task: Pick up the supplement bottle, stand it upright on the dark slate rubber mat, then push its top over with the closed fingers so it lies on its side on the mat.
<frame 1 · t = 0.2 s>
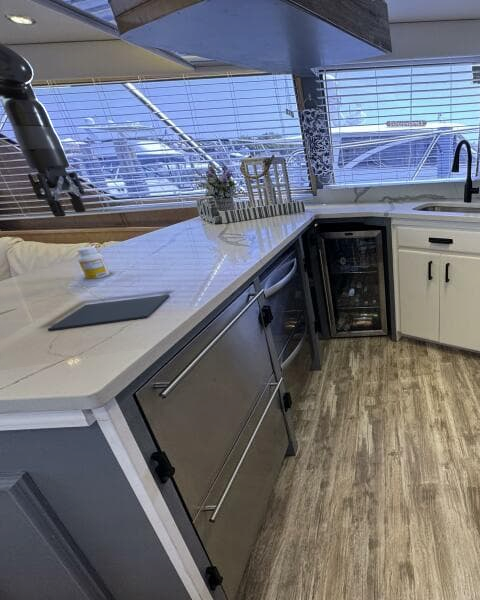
hand: (71, 214, 86), 20 cm above the worktop, tool pointing down, fingers open, 8 cm apart
rubber mat: (115, 311, 74), on the worktop
supplement bottle: (100, 280, 98), on the worktop
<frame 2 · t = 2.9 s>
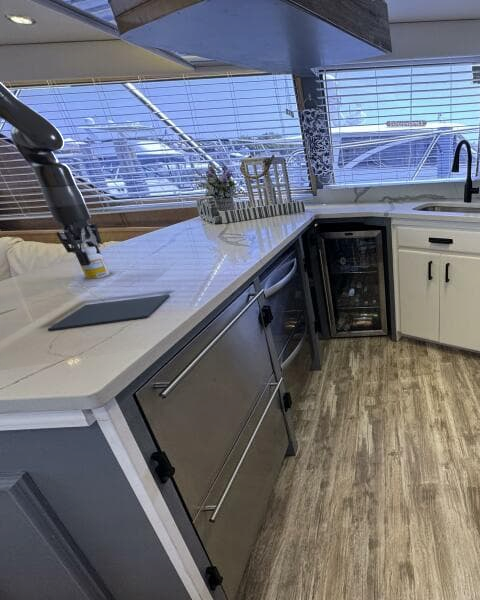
hand: (92, 262, 95), 5 cm above the worktop, tool pointing down, fingers closed on supplement bottle, 5 cm apart
supplement bottle: (100, 280, 98), on the worktop, touching gripper
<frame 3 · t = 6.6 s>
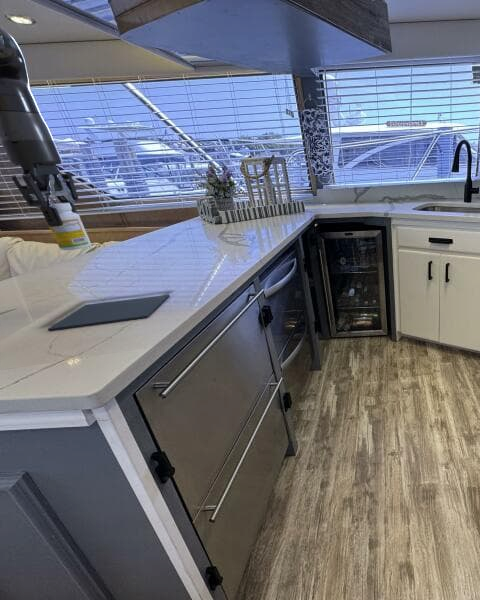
hand: (65, 223, 71), 20 cm above the worktop, tool pointing down, fingers closed on supplement bottle, 5 cm apart
supplement bottle: (77, 248, 74), point 14 cm above the worktop, touching gripper
when the fingers open (6 cm above the worktop, at t = 10.8 s): supplement bottle stays where it is, resting on rubber mat.
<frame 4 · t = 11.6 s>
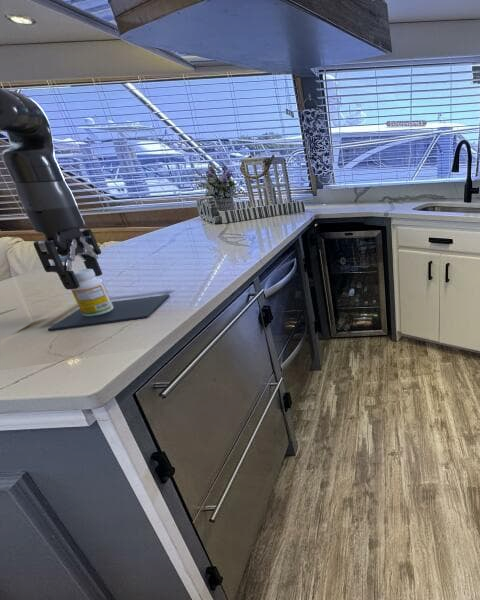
hand: (85, 281, 70), 8 cm above the worktop, tool pointing down, fingers open, 8 cm apart
supplement bottle: (99, 312, 73), resting on rubber mat
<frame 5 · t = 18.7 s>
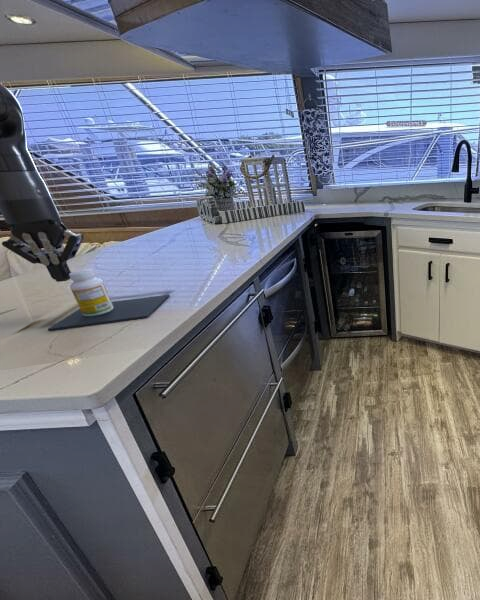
hand: (63, 280, 69), 9 cm above the worktop, tool pointing down, fingers closed
supplement bottle: (99, 312, 73), resting on rubber mat, touching gripper
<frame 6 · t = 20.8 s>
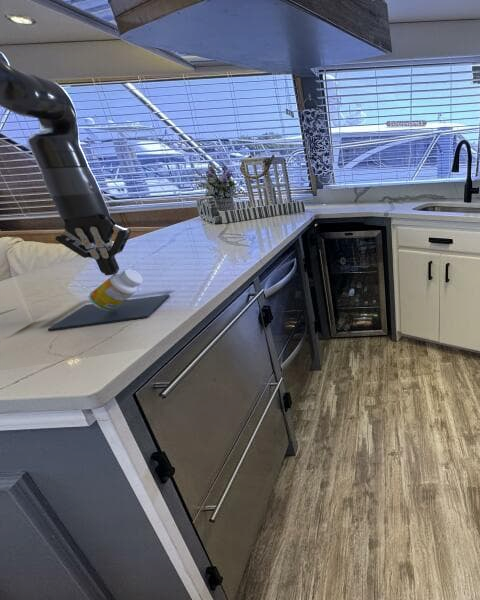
hand: (111, 274, 71), 9 cm above the worktop, tool pointing down, fingers closed
supplement bottle: (100, 302, 73), point 3 cm above the worktop, touching gripper, rubber mat
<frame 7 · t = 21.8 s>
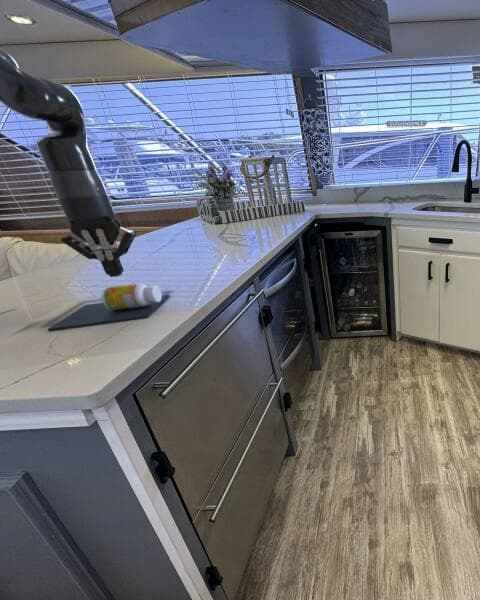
hand: (116, 275, 71), 9 cm above the worktop, tool pointing down, fingers closed
supplement bottle: (108, 299, 73), point 3 cm above the worktop, touching rubber mat
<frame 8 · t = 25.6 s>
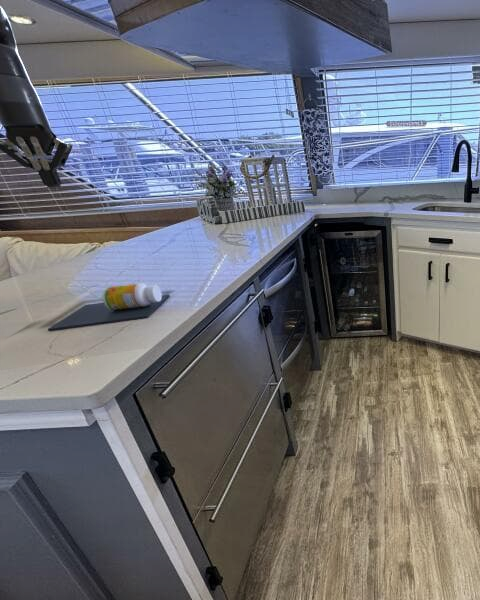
hand: (54, 187, 76), 27 cm above the worktop, tool pointing down, fingers closed
nothing on the worktop moved.
at the end: supplement bottle tilted 90°; supplement bottle inside the target area on the rubber mat (1.1 cm from its centre), point 3.2 cm above the rubber mat's base; the gripper is holding nothing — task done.
